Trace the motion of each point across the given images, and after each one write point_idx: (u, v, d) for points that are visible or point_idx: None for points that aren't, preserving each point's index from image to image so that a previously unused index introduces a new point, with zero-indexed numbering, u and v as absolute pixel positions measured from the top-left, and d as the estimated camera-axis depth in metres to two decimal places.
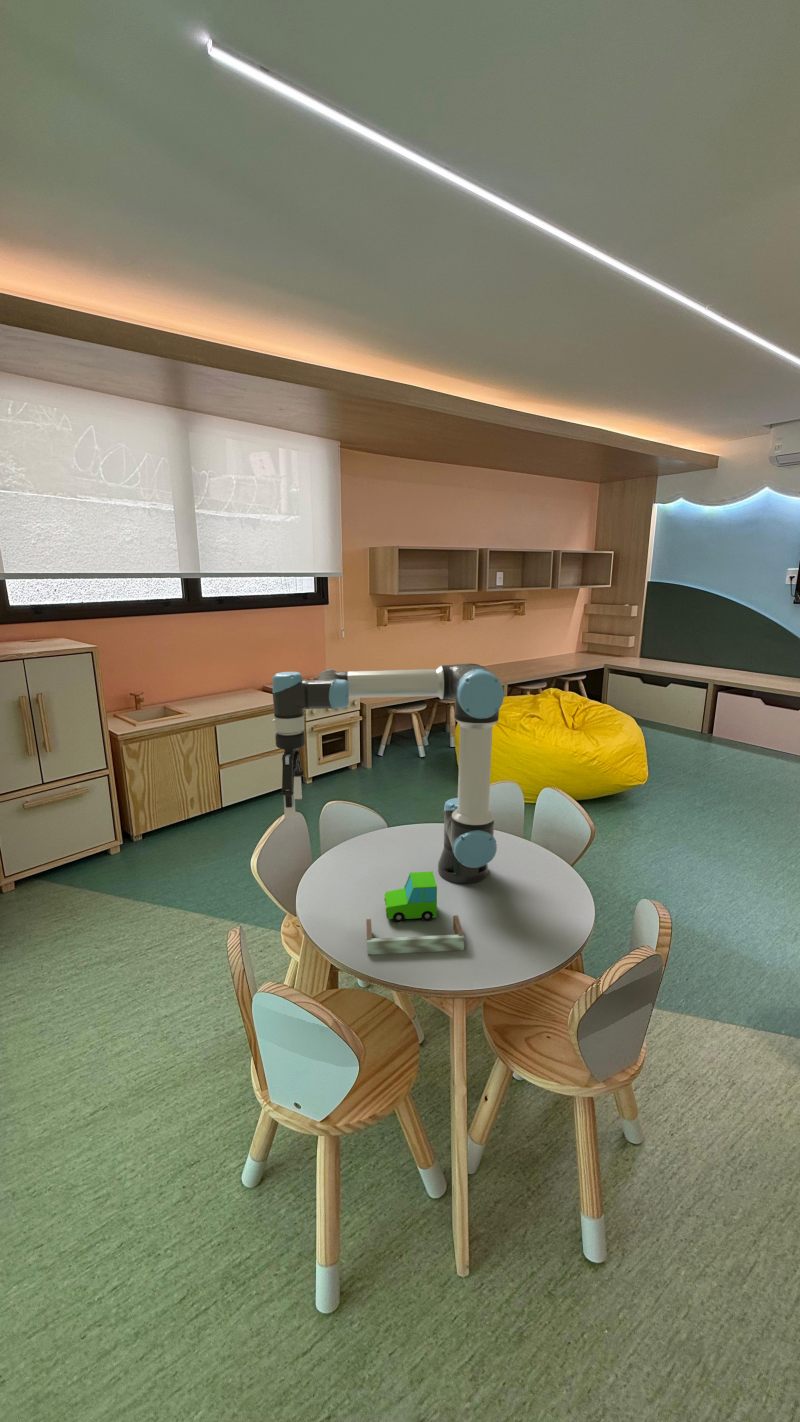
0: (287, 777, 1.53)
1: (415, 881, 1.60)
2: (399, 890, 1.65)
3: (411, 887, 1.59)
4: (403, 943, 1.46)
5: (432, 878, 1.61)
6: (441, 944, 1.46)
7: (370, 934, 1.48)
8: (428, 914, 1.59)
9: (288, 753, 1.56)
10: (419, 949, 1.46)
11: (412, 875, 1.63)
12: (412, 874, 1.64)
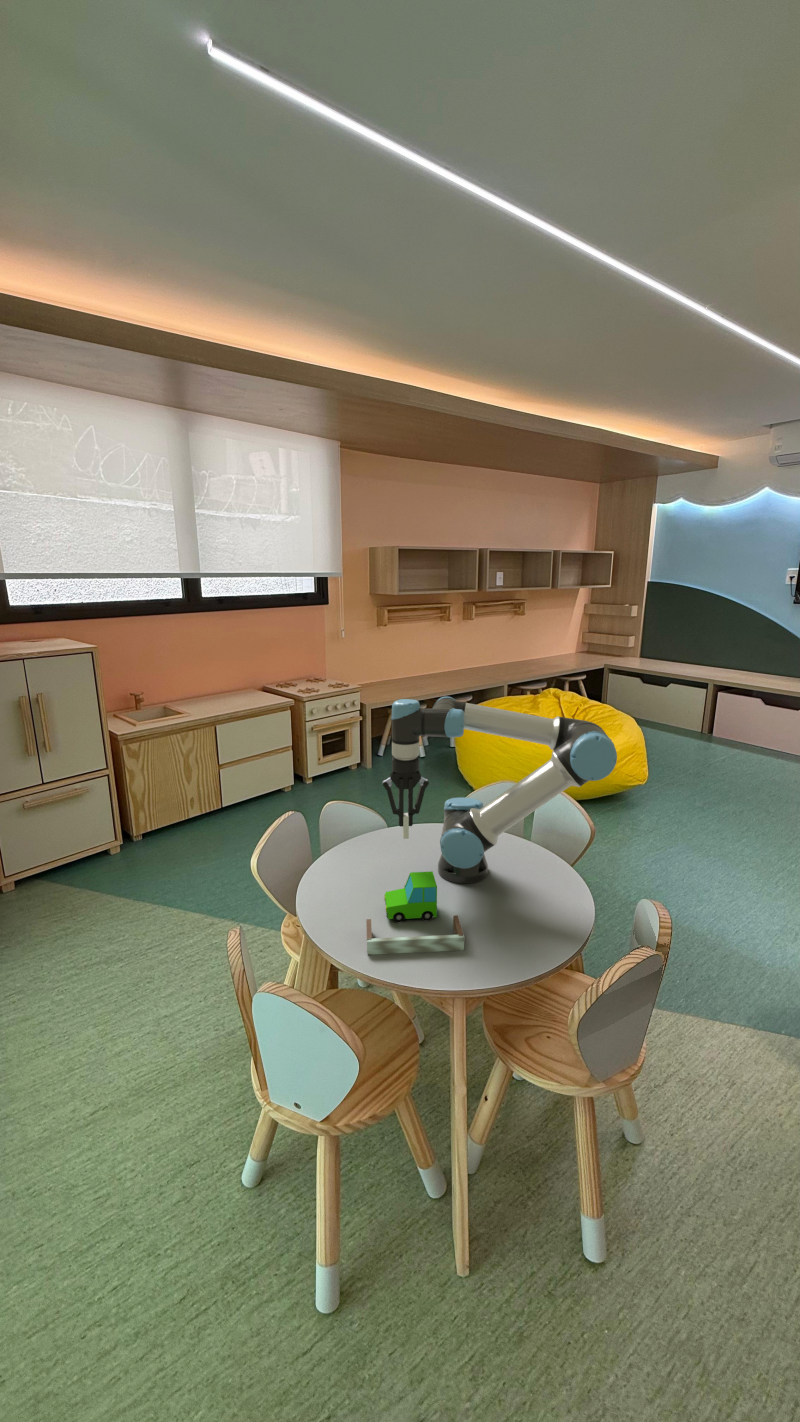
0: None
1: (415, 881, 1.60)
2: (399, 890, 1.65)
3: (411, 887, 1.60)
4: (403, 943, 1.46)
5: (432, 878, 1.61)
6: (441, 944, 1.46)
7: (370, 934, 1.48)
8: (429, 914, 1.59)
9: None
10: (419, 949, 1.46)
11: (412, 875, 1.63)
12: (412, 874, 1.64)
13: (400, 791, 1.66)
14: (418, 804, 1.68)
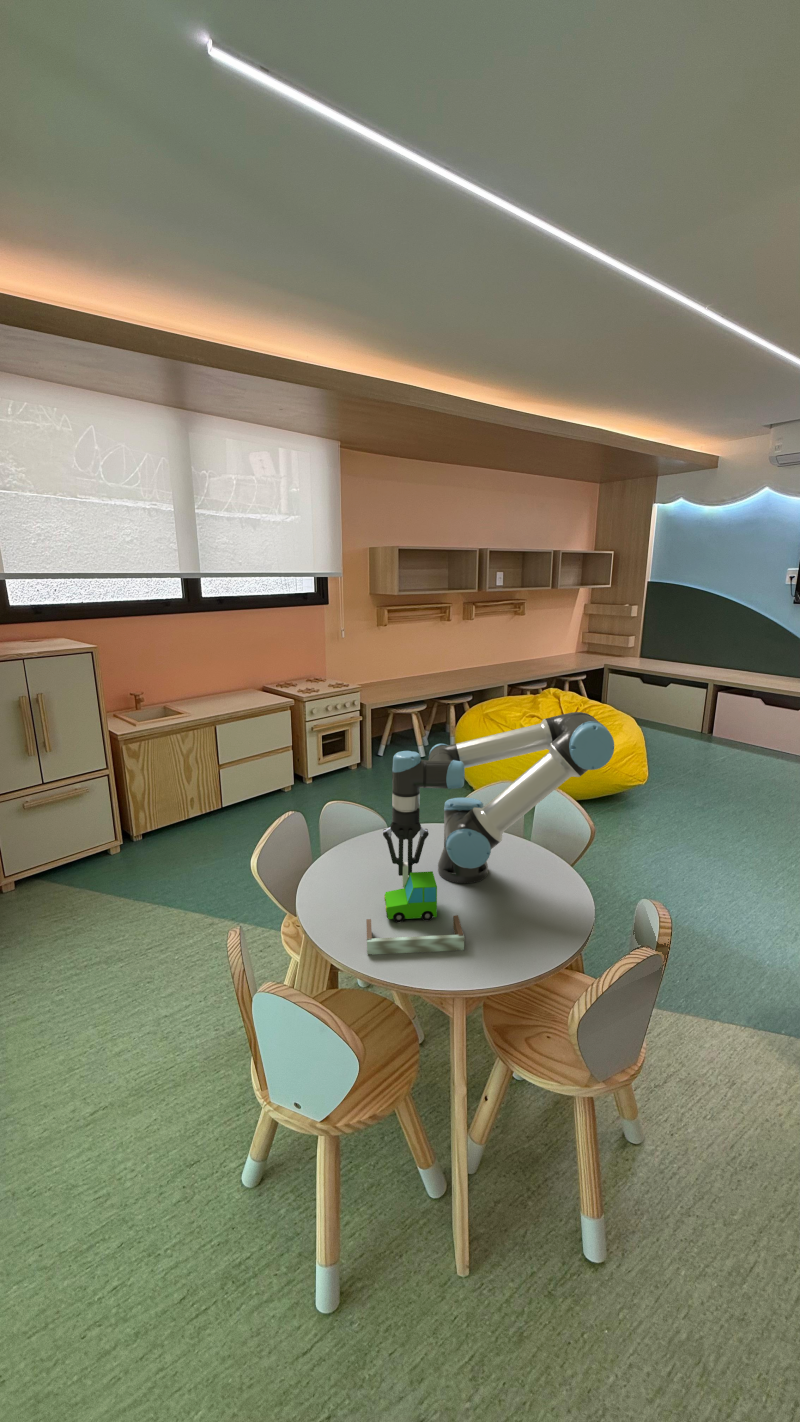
0: None
1: (415, 881, 1.60)
2: (399, 890, 1.65)
3: (411, 887, 1.60)
4: (403, 943, 1.46)
5: (432, 878, 1.61)
6: (441, 944, 1.46)
7: (370, 934, 1.48)
8: (429, 914, 1.59)
9: None
10: (419, 949, 1.46)
11: (412, 875, 1.63)
12: (412, 874, 1.64)
13: (400, 841, 1.68)
14: (418, 854, 1.69)
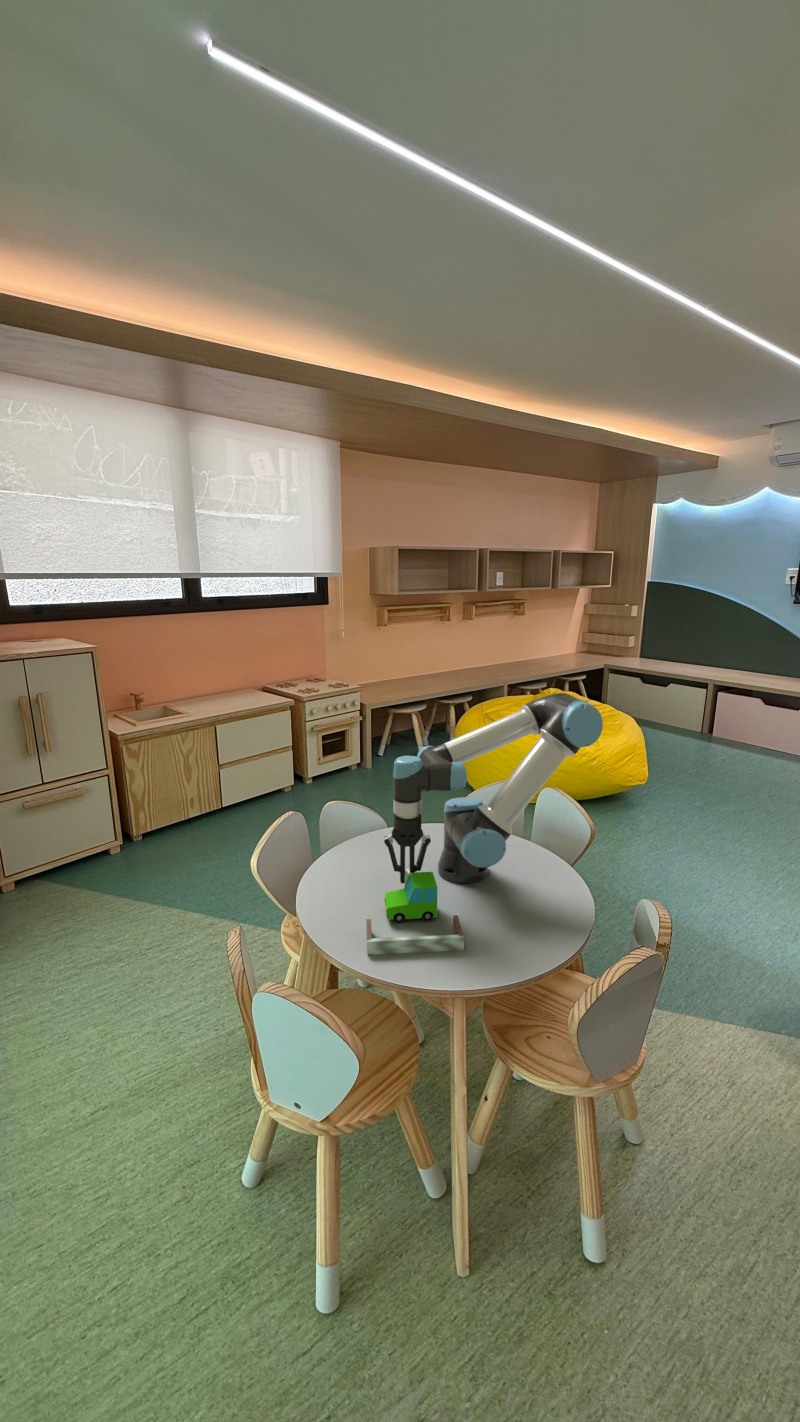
0: None
1: (415, 882, 1.60)
2: (399, 890, 1.64)
3: (411, 887, 1.59)
4: (403, 943, 1.46)
5: (432, 878, 1.61)
6: (441, 944, 1.46)
7: (370, 934, 1.48)
8: (429, 914, 1.59)
9: None
10: (419, 949, 1.46)
11: (412, 875, 1.63)
12: (412, 874, 1.63)
13: (402, 849, 1.64)
14: (420, 861, 1.65)
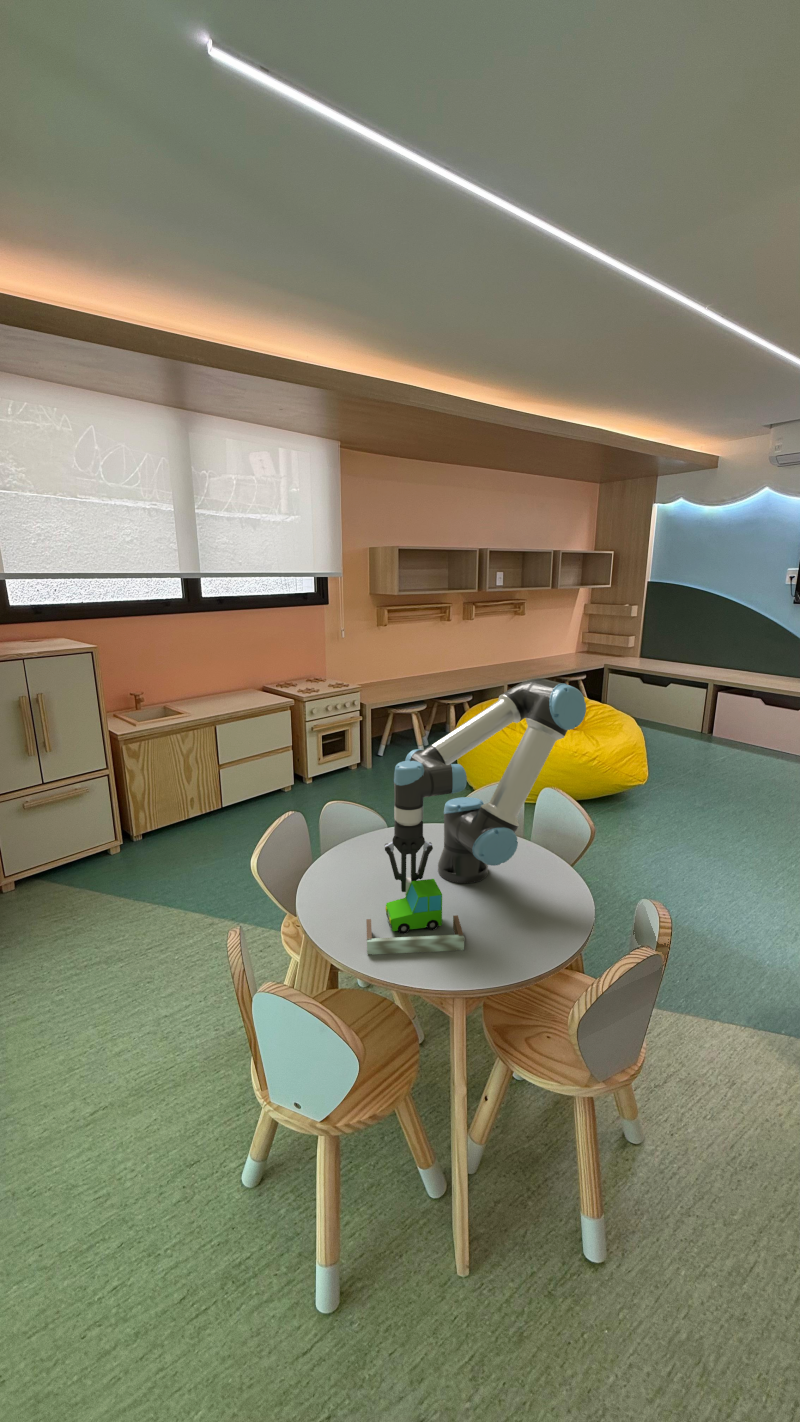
0: None
1: (418, 890, 1.55)
2: (400, 900, 1.60)
3: (415, 896, 1.55)
4: (403, 943, 1.46)
5: (435, 886, 1.57)
6: (441, 944, 1.46)
7: (370, 934, 1.48)
8: (434, 922, 1.55)
9: None
10: (419, 949, 1.46)
11: (414, 884, 1.58)
12: (414, 883, 1.59)
13: (403, 856, 1.59)
14: (421, 869, 1.61)
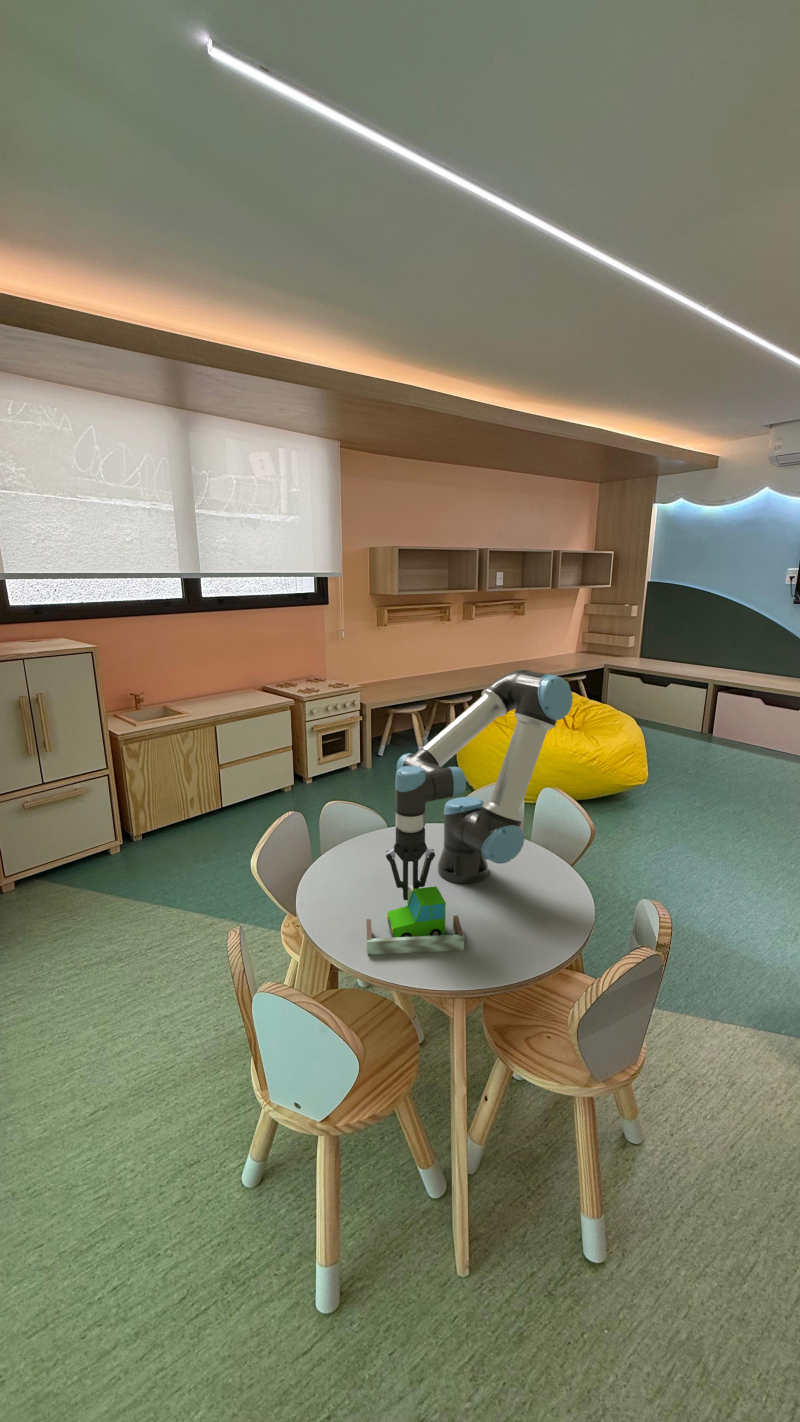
0: None
1: (421, 898, 1.51)
2: (402, 908, 1.56)
3: (417, 905, 1.51)
4: (403, 943, 1.46)
5: (438, 893, 1.54)
6: (441, 944, 1.46)
7: (370, 934, 1.48)
8: (437, 931, 1.51)
9: None
10: (419, 949, 1.46)
11: (416, 892, 1.55)
12: (416, 890, 1.55)
13: (404, 864, 1.55)
14: (424, 877, 1.57)
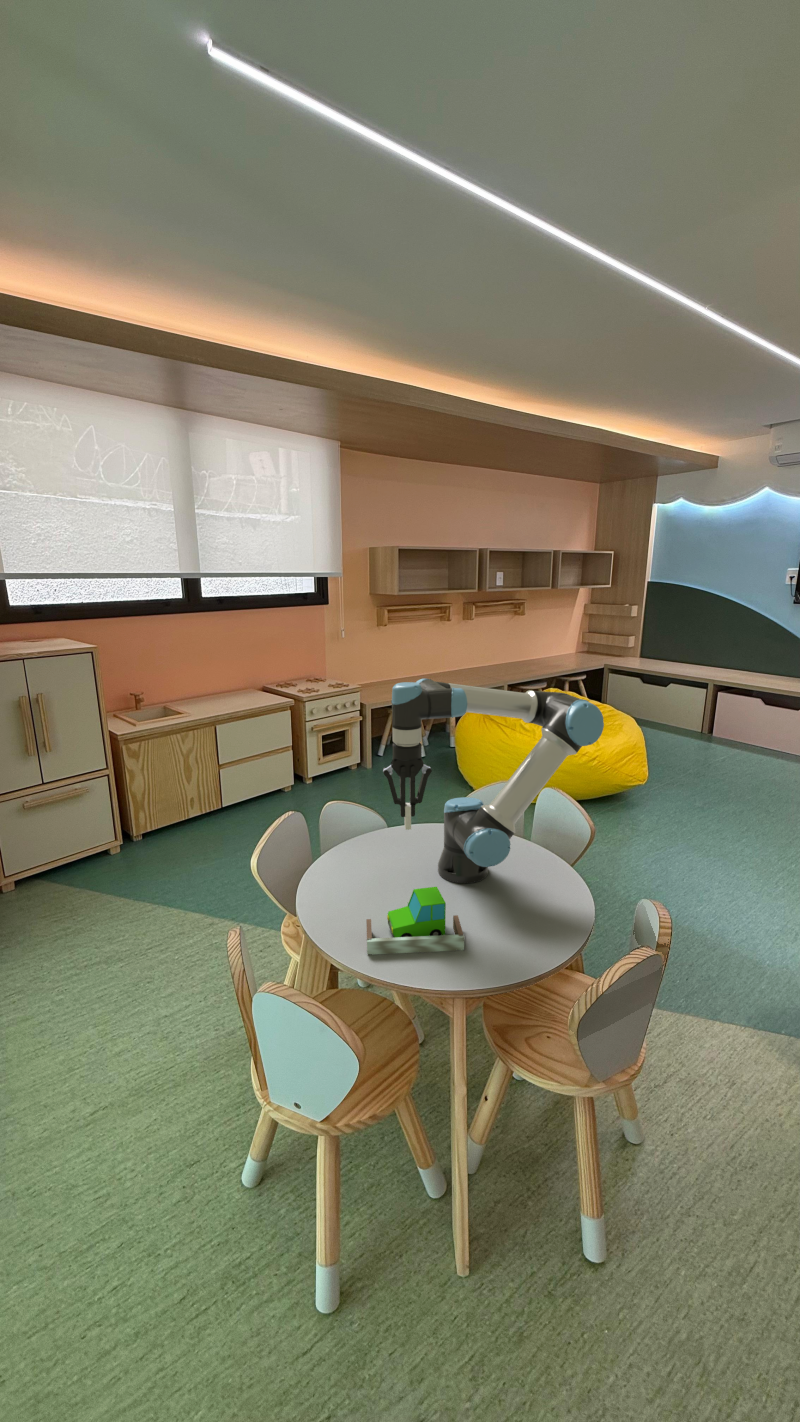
0: None
1: (421, 899, 1.51)
2: (403, 909, 1.56)
3: (418, 905, 1.51)
4: (403, 943, 1.46)
5: (438, 894, 1.54)
6: (441, 944, 1.46)
7: (370, 934, 1.48)
8: (437, 932, 1.51)
9: None
10: (419, 949, 1.46)
11: (416, 892, 1.55)
12: (416, 891, 1.55)
13: (402, 779, 1.57)
14: (421, 793, 1.59)
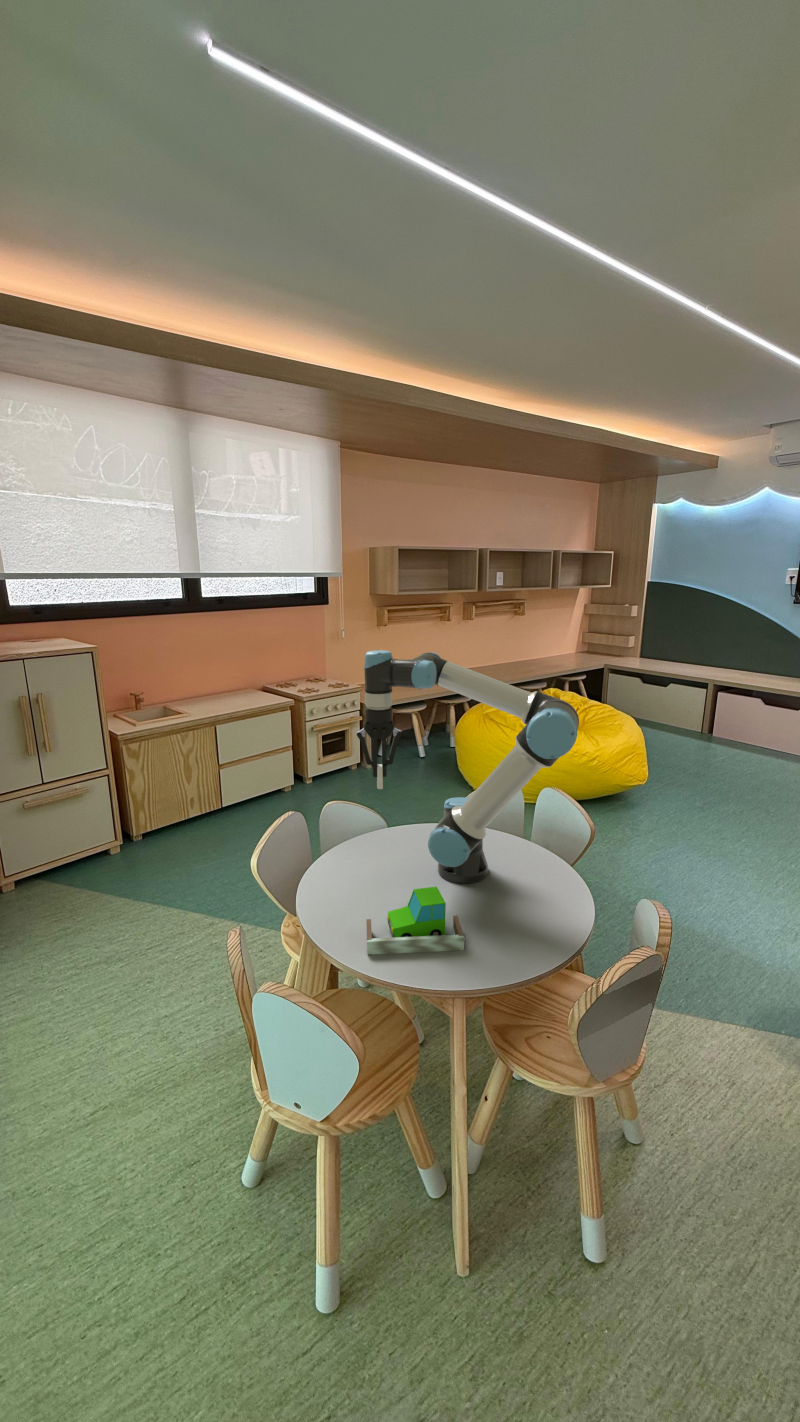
0: (363, 749, 1.70)
1: (421, 899, 1.51)
2: (403, 909, 1.56)
3: (418, 905, 1.51)
4: (403, 943, 1.46)
5: (438, 894, 1.54)
6: (441, 944, 1.46)
7: (370, 934, 1.48)
8: (437, 932, 1.51)
9: None
10: (419, 949, 1.46)
11: (416, 892, 1.55)
12: (416, 891, 1.55)
13: (373, 741, 1.68)
14: (392, 754, 1.70)
